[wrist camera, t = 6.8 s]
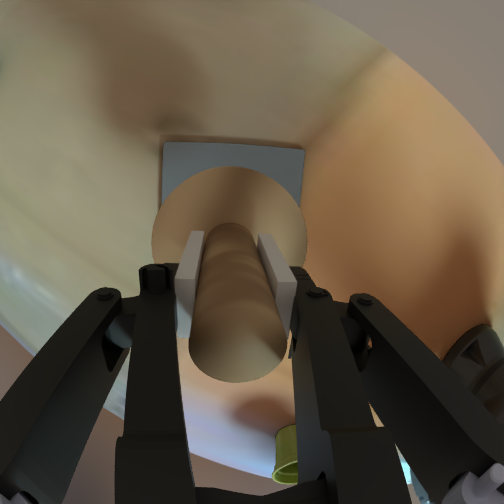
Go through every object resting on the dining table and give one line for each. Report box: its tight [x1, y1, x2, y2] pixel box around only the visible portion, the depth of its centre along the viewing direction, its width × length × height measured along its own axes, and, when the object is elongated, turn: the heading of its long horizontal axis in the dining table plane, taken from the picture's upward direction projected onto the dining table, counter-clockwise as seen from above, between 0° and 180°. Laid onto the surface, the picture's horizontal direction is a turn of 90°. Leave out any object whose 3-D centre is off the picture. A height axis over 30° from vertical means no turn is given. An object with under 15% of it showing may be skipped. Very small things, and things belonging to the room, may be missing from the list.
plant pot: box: [272, 424, 298, 484], centre depth 39 cm, size 9×9×9 cm
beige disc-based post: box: [152, 166, 307, 383], centre depth 14 cm, size 10×10×11 cm
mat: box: [162, 142, 305, 207], centre depth 30 cm, size 14×14×1 cm
